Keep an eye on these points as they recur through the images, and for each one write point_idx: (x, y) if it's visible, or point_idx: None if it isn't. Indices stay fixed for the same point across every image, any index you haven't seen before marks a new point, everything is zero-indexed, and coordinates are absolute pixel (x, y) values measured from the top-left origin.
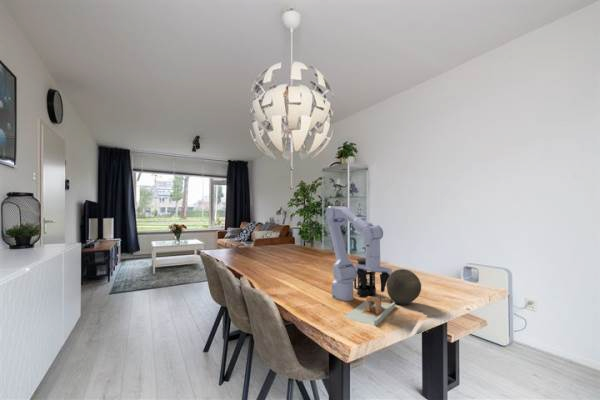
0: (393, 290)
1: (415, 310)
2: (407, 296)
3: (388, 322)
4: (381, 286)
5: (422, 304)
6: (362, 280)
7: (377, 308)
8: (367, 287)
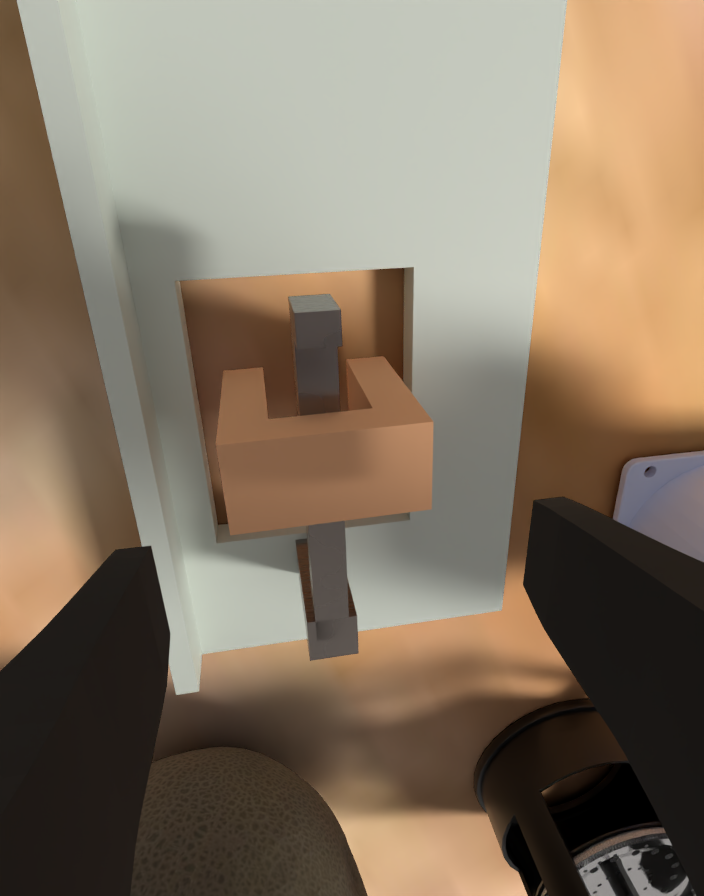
0: (221, 850)
1: None
2: None
3: (52, 286)
4: (93, 620)
5: None
6: (683, 586)
7: (236, 390)
8: (584, 841)
